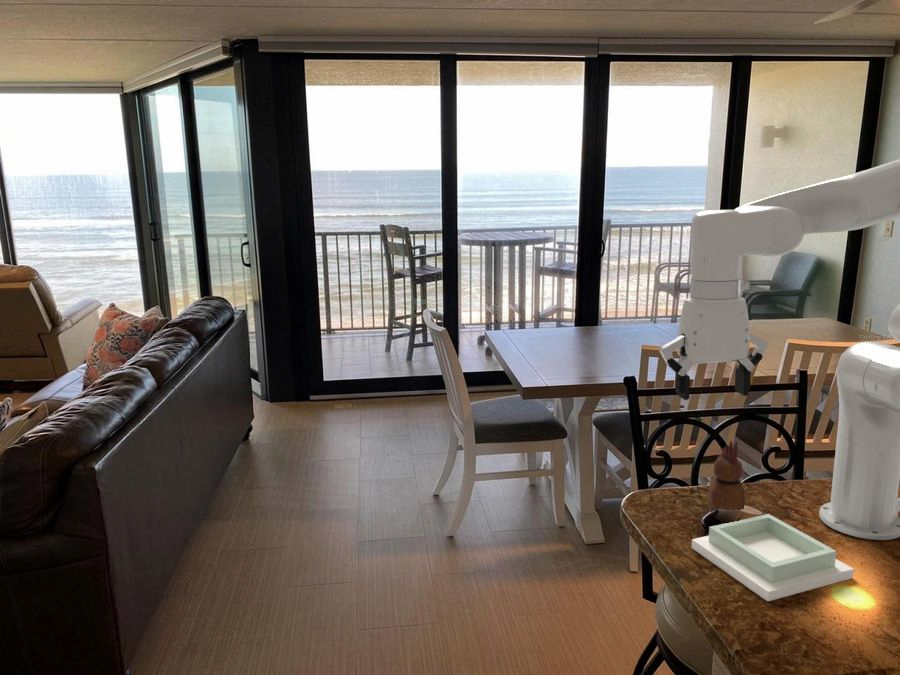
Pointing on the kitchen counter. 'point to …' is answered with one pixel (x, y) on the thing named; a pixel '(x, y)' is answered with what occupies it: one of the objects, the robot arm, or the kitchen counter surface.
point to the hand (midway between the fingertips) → (712, 395)
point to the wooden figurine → (727, 482)
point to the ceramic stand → (771, 557)
